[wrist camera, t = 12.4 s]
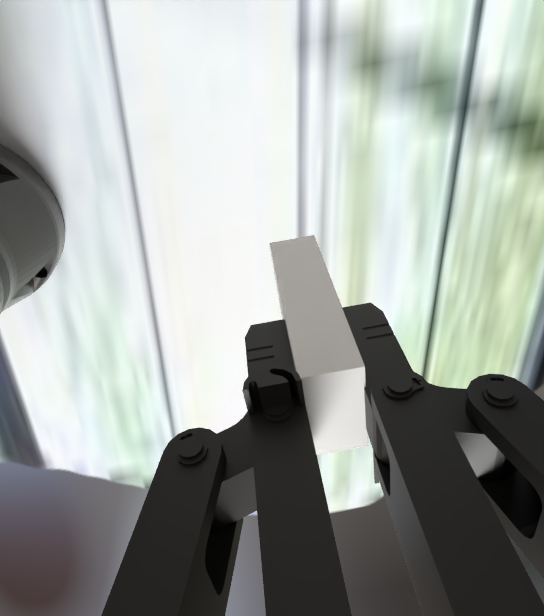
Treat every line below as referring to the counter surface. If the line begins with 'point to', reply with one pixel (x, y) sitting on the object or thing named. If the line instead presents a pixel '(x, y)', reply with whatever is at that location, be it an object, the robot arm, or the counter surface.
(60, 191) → the counter surface
